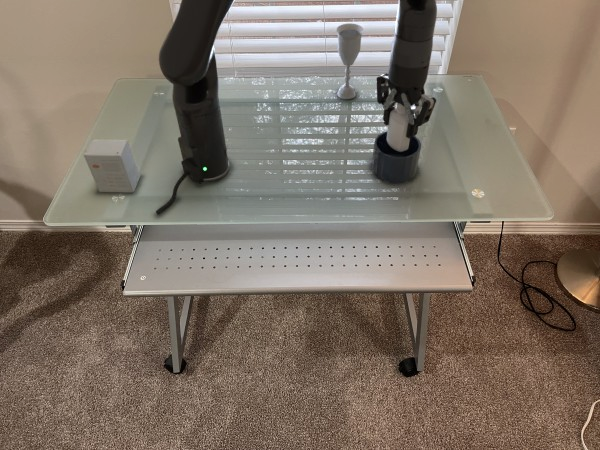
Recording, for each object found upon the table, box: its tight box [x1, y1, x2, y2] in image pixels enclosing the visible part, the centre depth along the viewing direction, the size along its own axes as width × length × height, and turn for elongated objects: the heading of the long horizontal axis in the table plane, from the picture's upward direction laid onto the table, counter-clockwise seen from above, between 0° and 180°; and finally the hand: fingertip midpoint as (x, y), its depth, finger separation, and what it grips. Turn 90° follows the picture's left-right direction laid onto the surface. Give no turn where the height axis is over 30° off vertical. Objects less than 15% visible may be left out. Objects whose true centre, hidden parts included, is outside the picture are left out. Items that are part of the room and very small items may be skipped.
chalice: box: [335, 23, 364, 100], centre depth 131 cm, size 7×7×18 cm
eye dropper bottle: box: [386, 103, 410, 152], centre depth 106 cm, size 4×6×12 cm
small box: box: [83, 139, 141, 193], centre depth 109 cm, size 8×6×10 cm
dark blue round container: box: [371, 130, 422, 184], centre depth 113 cm, size 10×10×7 cm
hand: (399, 129), depth 108 cm, fingers closed on eye dropper bottle, 5 cm apart
